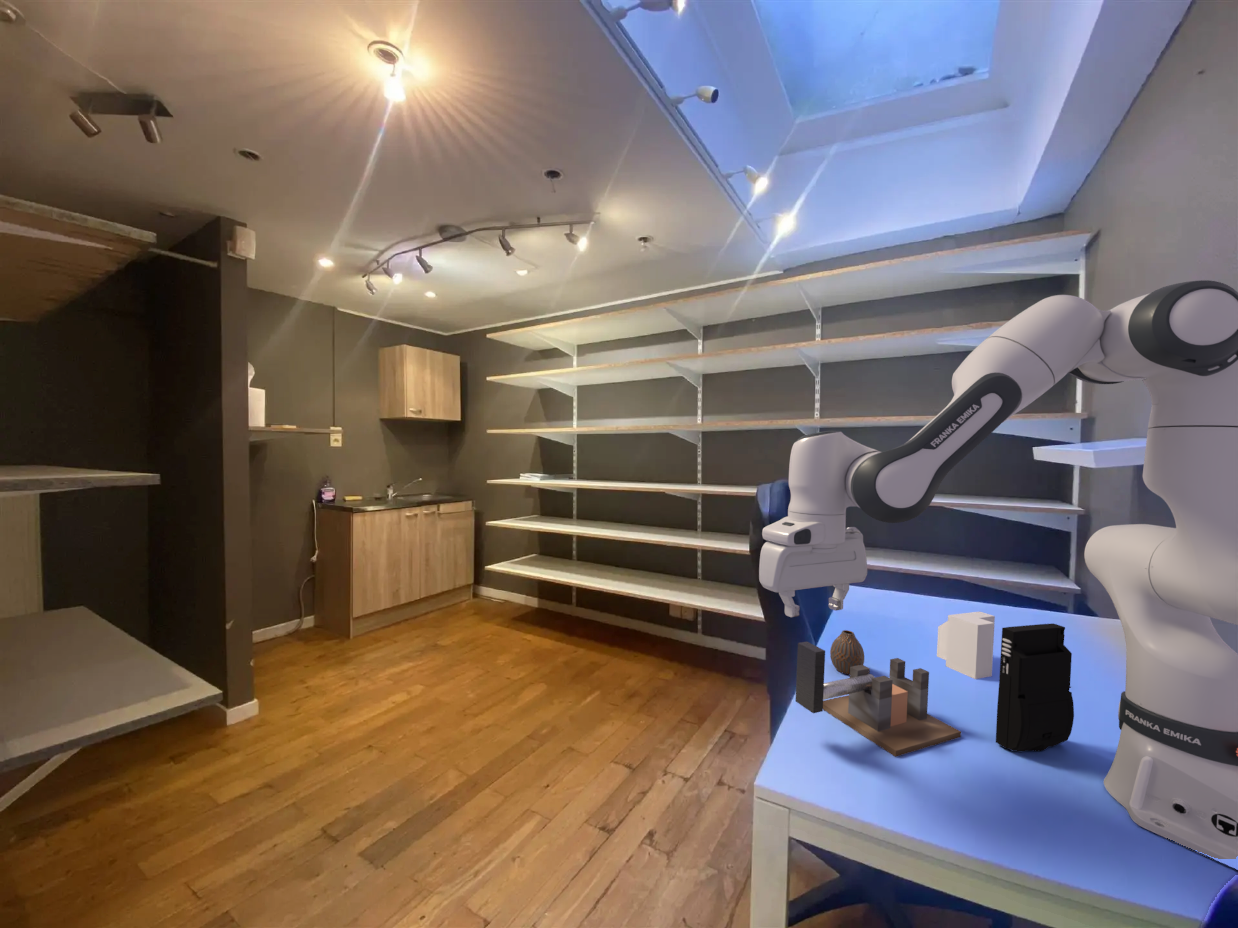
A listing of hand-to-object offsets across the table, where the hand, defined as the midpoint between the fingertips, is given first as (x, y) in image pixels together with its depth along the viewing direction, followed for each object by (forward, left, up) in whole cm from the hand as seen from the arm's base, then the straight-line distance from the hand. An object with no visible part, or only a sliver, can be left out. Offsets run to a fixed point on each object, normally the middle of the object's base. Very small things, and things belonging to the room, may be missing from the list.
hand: (814, 612), depth 80 cm
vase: (+18, -28, -22) cm, 40 cm away
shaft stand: (0, -18, -22) cm, 28 cm away
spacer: (0, -18, -21) cm, 27 cm away
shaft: (0, -6, -16) cm, 17 cm away
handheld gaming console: (-14, -35, -22) cm, 44 cm away
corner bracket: (+11, -58, -22) cm, 63 cm away
